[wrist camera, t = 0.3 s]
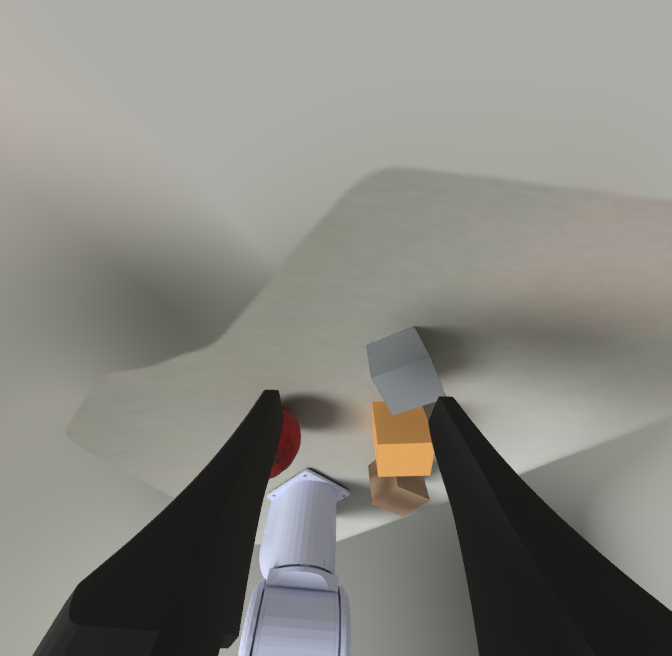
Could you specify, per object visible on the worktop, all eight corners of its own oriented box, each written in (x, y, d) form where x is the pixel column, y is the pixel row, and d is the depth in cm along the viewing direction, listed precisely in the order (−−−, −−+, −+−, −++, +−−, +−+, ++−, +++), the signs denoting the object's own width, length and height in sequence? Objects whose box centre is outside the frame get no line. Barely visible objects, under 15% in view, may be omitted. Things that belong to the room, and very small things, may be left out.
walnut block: (395, 476, 32) (402, 515, 28) (368, 465, 31) (372, 504, 27) (418, 459, 30) (429, 499, 26) (390, 447, 29) (397, 486, 25)
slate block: (384, 378, 24) (392, 415, 20) (366, 344, 22) (371, 377, 18) (428, 362, 23) (446, 398, 19) (413, 325, 21) (430, 356, 17)
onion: (287, 382, 24) (265, 459, 17) (315, 418, 27) (305, 497, 20) (241, 400, 26) (203, 477, 19) (271, 432, 28) (248, 511, 21)
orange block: (372, 432, 28) (378, 476, 23) (372, 401, 25) (377, 444, 21) (416, 430, 27) (430, 475, 23) (420, 399, 25) (436, 442, 21)
